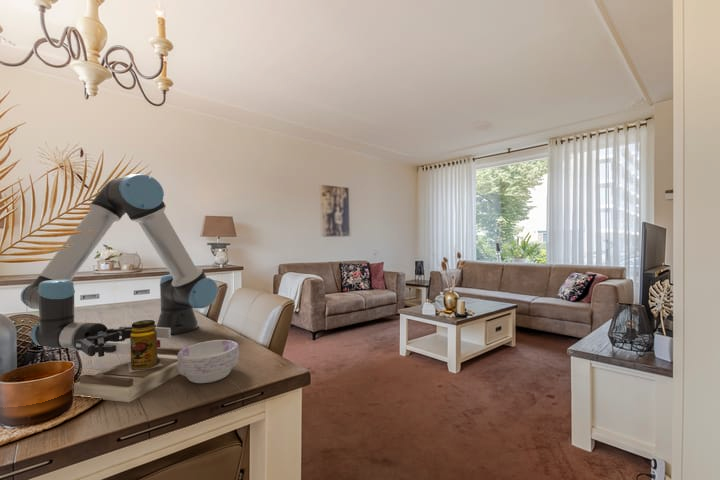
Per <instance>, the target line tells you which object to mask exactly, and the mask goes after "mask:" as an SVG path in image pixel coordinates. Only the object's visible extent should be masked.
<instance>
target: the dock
mask: <svg viewBox="0 0 720 480" xmlns="http://www.w3.org/2000/svg"><path fill="white" fill-rule="evenodd" d="M182 349H183V348H181V347H180V348H176V347H162V346H160V347H157V357H159V360H160V362H161V364H162V365H163V366H158V367H154V368H150V369H146V370H142V371H136V372H131V373H130V372H129V368H128V364H127V363H131V359H130V360H127V361H125V362H122V363H120V364H118V365H115V366H112V367H110V368H108V369H105V370H102V371H101V372H98V373H95V374H93V375H92V374H83V375H80V376H79V381H77V382H74V383H73V384H74V395H84V396H91V397H100V398H102V399H103V400H104V401H113V402H125V403H130V402H132V401H134V400H135V399H138V398H140V397H142V396H144V395H145V394H147V393H148V392H150V391H151V390H153V389H156V388H157V387H159V386H161V385H163V384H164V383H166V382H168V381H170V380H171V379H173V378H175V377H177V376H178V375H181V374H180V373H179V372H178V362H177V354H178V352H179V351H180V350H182ZM102 399H101V400H102Z"/></svg>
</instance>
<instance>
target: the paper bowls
mask: <svg viewBox="0 0 720 480" xmlns="http://www.w3.org/2000/svg"><path fill="white" fill-rule="evenodd" d="M239 348H240V347H239V344H238V342H236V341H233V340H229V339H214V340H207V341H201V342H198V343H194V344H191V345H188V346H186V347H184V348H183V347H182V348H181V349H182V350H180V351H179V352H178V354H177V362H178V372H179V373H180V374H179V375H182V376H183V377H186V378H187V380H188V381H190V382H191V383H194V384H208V383H213V382H217V381H220V380H223V379H224V378H226V377H227V376H229V374H230V373H231V371H232V368H234V367H235V366H237V364H239V361H240V356H239V355H240V353H239V350H240V349H239Z"/></svg>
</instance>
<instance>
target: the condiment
mask: <svg viewBox="0 0 720 480" xmlns="http://www.w3.org/2000/svg"><path fill="white" fill-rule="evenodd" d="M155 325H156V322H155V320H154V319H144V320H139V321H135V322H133V323H131V327H132V333H131V335H130V338H129V339H130V342H129V343H130V360H131V363H127V364H128V368H129V372H130V373H131V372H136V371H142V370H146V369H150V368H154V367H158V366H163V365H162V364H161V362H160V360H159V357H157V340H158V337H157V331H156V330H155Z"/></svg>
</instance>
